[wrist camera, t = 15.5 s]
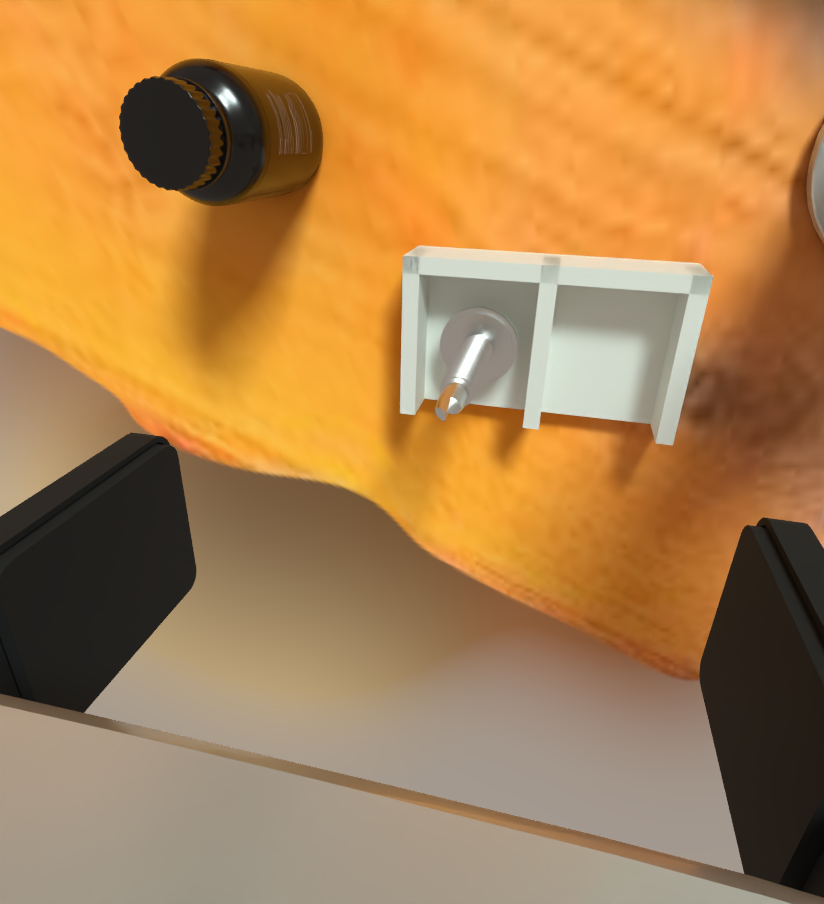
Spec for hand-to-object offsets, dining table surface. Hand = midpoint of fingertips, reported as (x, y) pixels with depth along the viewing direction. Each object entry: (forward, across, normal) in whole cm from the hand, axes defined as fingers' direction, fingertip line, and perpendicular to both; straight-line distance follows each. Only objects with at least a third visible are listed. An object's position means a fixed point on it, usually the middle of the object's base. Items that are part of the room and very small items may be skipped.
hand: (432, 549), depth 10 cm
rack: (+32, -1, +5) cm, 33 cm away
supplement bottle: (+32, +17, -6) cm, 37 cm away
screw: (+31, +3, +5) cm, 32 cm away
